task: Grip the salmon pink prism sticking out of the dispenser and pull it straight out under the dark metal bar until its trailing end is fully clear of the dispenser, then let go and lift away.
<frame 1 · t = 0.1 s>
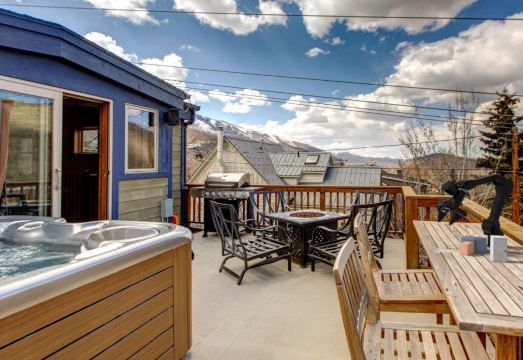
hand: (443, 223, 182), 15 cm above the table, tool tilted 30°, fingers open, 9 cm apart
dispenser: (473, 251, 178), on the table
salmon pink prism: (469, 247, 175), point 3 cm above the table, slide at 0.0 cm
skincare box: (498, 261, 160), on the table
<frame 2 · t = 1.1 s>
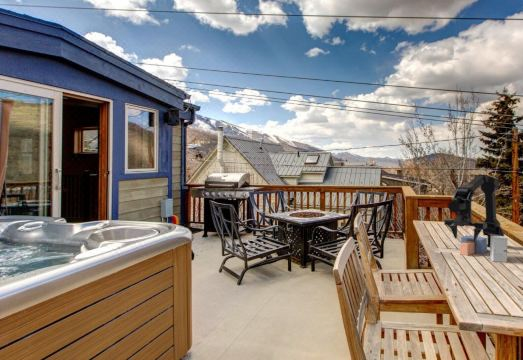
hand: (465, 239, 172), 8 cm above the table, tool pointing down, fingers open, 9 cm apart
nothing on the table moved.
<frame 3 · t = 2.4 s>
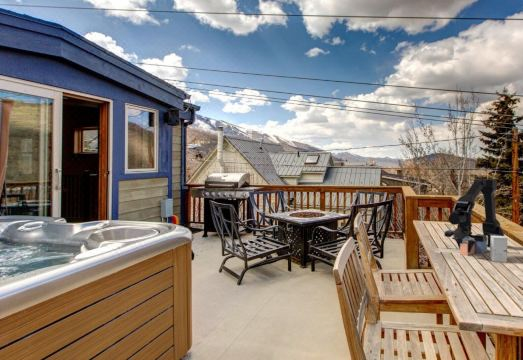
hand: (465, 251, 172), 2 cm above the table, tool pointing down, fingers closed on salmon pink prism, 3 cm apart
salmon pink prism: (469, 247, 175), point 3 cm above the table, slide at 0.0 cm, touching gripper
everything else where it was.
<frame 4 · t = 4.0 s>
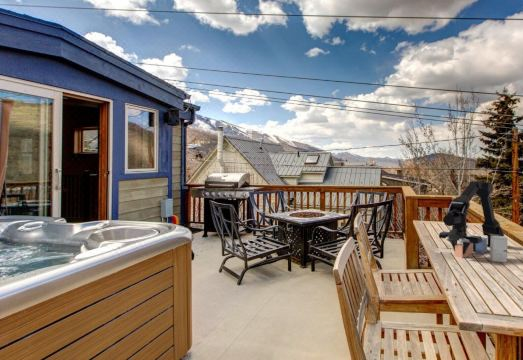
hand: (459, 253, 168), 2 cm above the table, tool pointing down, fingers closed on salmon pink prism, 3 cm apart
salmon pink prism: (464, 249, 171), point 3 cm above the table, slide at 6.0 cm, touching gripper
everything else where it was.
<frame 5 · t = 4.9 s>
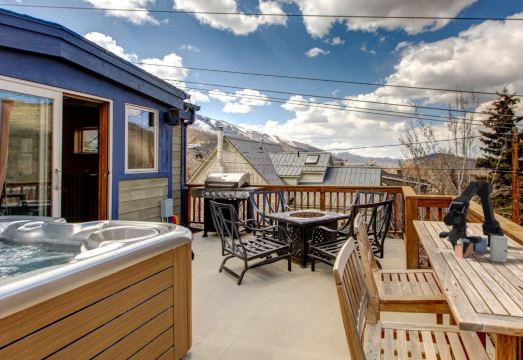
hand: (459, 253, 168), 2 cm above the table, tool pointing down, fingers closed on salmon pink prism, 3 cm apart
salmon pink prism: (464, 249, 171), point 3 cm above the table, slide at 6.0 cm, touching gripper
everything else where it was.
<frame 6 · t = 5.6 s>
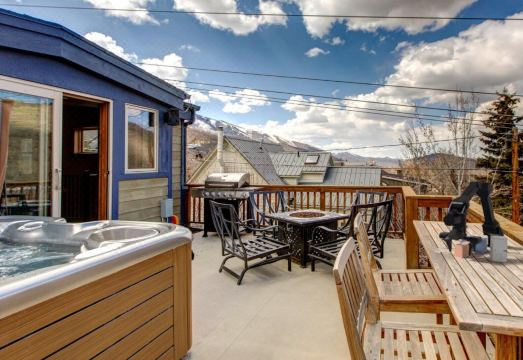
hand: (459, 253, 168), 2 cm above the table, tool pointing down, fingers open, 9 cm apart
salmon pink prism: (464, 249, 171), point 3 cm above the table, slide at 6.0 cm
everything else where it was.
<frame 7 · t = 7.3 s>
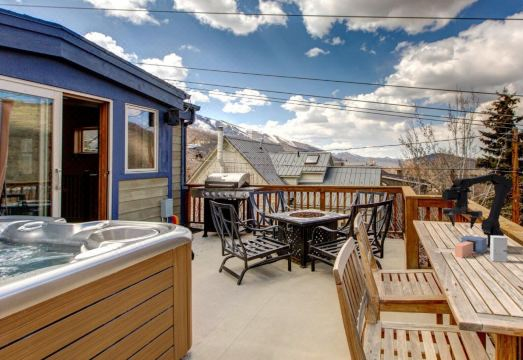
hand: (462, 227, 185), 12 cm above the table, tool pointing down, fingers open, 9 cm apart
nothing on the table moved.
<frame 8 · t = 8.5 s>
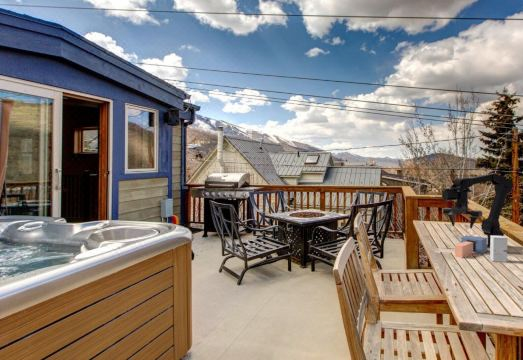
hand: (462, 227, 185), 12 cm above the table, tool pointing down, fingers open, 9 cm apart
nothing on the table moved.
at the end: salmon pink prism slide at 6.0 cm; the gripper is holding nothing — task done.
